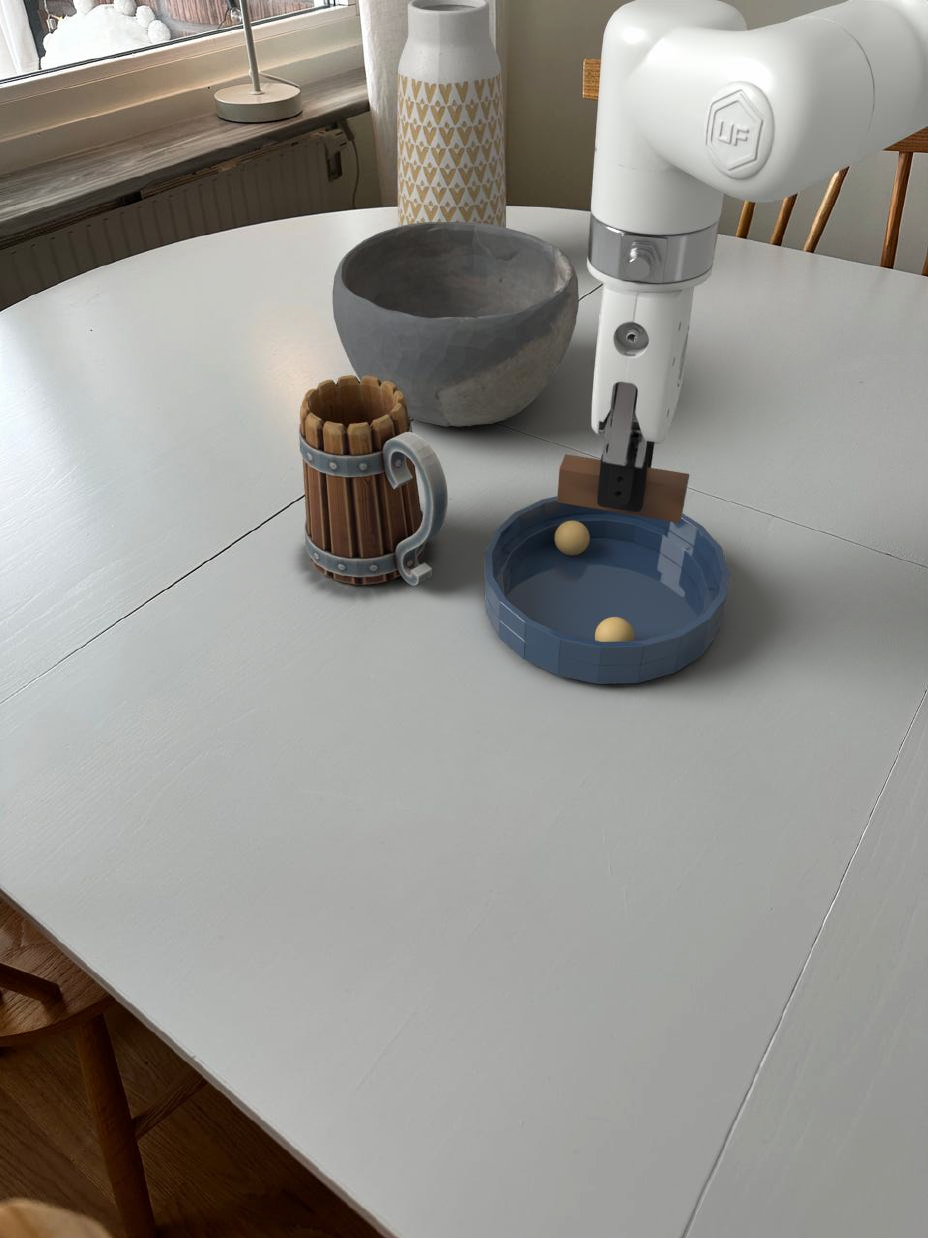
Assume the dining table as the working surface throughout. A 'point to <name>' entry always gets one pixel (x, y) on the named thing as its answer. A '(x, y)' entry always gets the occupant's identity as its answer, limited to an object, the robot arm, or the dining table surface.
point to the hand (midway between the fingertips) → (623, 494)
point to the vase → (450, 117)
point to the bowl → (457, 317)
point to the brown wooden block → (582, 490)
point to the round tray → (604, 592)
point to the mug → (367, 483)
